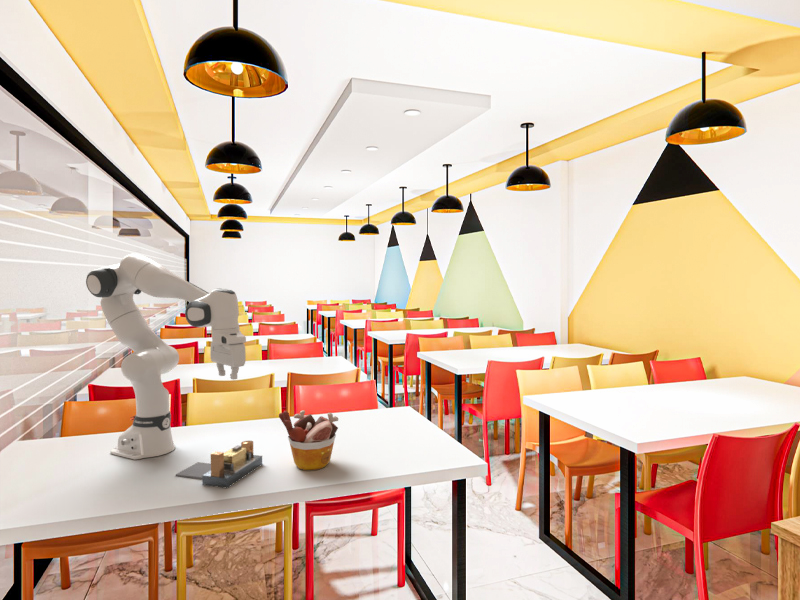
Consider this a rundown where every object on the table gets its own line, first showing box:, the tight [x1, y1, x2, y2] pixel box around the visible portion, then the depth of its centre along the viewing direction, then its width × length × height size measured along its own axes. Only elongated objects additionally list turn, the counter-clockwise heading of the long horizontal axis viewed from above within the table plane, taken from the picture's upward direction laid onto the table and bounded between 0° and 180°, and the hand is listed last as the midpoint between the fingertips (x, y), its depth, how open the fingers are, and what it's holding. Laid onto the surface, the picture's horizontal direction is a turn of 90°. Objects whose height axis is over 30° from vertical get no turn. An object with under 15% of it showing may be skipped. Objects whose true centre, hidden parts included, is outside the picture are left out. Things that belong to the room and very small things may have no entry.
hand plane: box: [201, 440, 263, 489], centre depth 162 cm, size 20×9×10 cm, turn 164°
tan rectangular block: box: [224, 445, 247, 467], centre depth 162 cm, size 8×4×5 cm, turn 164°
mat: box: [175, 461, 211, 480], centre depth 165 cm, size 11×11×1 cm
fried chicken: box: [278, 409, 339, 471], centre depth 170 cm, size 20×16×20 cm
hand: (227, 377), depth 166 cm, fingers open, 8 cm apart
